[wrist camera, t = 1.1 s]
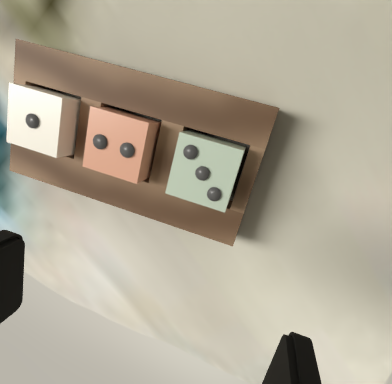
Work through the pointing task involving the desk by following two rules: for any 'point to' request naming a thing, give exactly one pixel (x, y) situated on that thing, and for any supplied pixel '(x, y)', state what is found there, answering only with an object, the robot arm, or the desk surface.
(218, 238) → the button board
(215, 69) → the desk surface
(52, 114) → the button one dot
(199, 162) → the button three dots
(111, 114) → the button two dots
